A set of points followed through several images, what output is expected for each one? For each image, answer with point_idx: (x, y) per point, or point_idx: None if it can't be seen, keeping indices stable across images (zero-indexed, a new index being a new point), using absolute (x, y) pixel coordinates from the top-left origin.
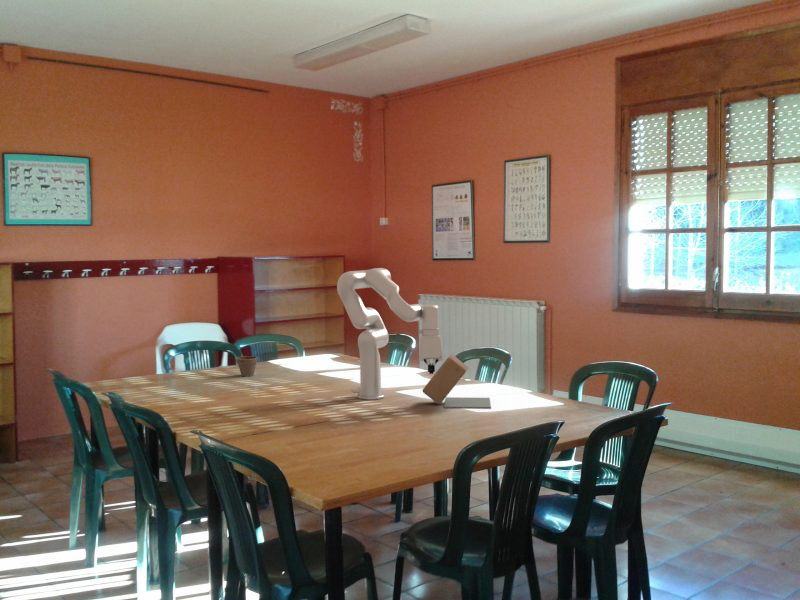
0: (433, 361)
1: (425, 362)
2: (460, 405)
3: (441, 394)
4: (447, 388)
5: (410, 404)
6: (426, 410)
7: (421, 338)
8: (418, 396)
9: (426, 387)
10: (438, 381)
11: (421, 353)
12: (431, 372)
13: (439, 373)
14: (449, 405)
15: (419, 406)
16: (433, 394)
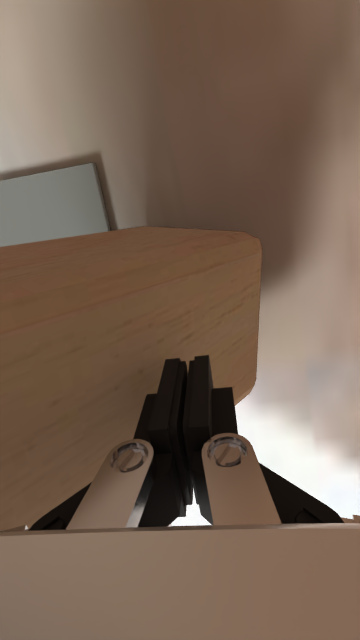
0: (122, 495)
1: (291, 485)
2: (12, 219)
3: (108, 233)
4: (41, 243)
5: (329, 231)
6: (193, 47)
7: None
8: (299, 436)
9: (226, 238)
10: (97, 249)
11: None
12: (182, 367)
13: (45, 271)
14: (73, 206)
15: (262, 180)
16: (169, 230)
